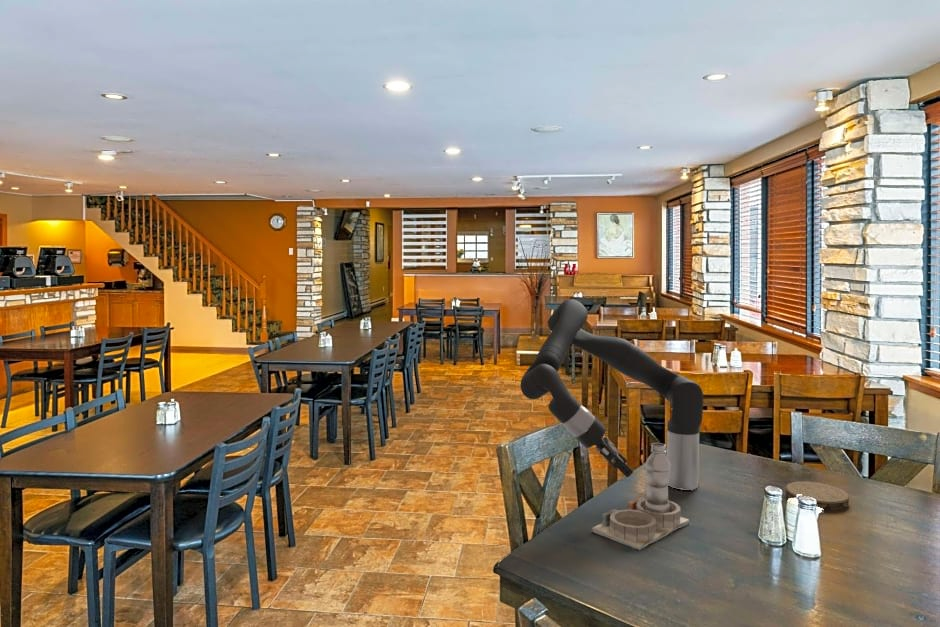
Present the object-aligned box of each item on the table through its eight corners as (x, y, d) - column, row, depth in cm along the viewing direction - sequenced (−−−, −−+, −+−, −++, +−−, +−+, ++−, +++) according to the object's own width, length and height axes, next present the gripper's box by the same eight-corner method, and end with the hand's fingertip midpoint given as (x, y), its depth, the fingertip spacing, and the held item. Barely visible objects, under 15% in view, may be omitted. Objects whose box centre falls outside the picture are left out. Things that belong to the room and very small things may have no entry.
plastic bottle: (666, 514, 172) (668, 441, 170) (672, 524, 165) (673, 449, 163) (642, 513, 172) (643, 440, 171) (646, 523, 166) (648, 448, 164)
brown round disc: (861, 506, 180) (861, 496, 180) (822, 516, 174) (822, 505, 173) (810, 487, 195) (811, 478, 194) (773, 496, 188) (773, 486, 188)
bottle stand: (643, 508, 179) (643, 492, 178) (689, 523, 168) (689, 506, 168) (591, 532, 164) (592, 514, 163) (638, 550, 153) (639, 532, 153)
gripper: (570, 428, 175) (612, 469, 175) (576, 443, 161) (621, 488, 161) (590, 409, 174) (632, 451, 174) (597, 423, 160) (643, 468, 160)
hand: (627, 469), depth 168 cm, fingers open, 8 cm apart
